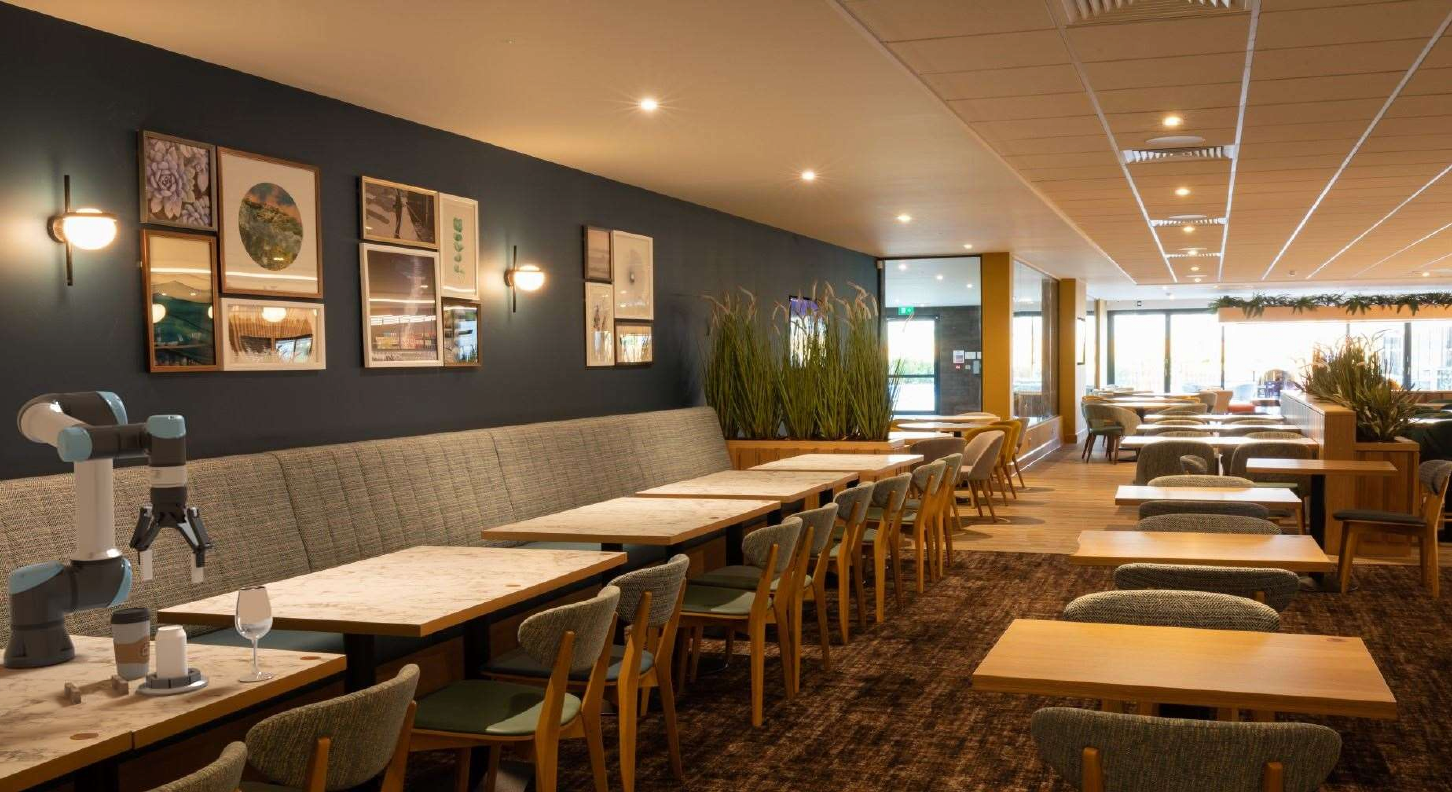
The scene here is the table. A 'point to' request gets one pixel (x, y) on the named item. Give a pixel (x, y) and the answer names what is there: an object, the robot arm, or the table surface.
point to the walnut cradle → (117, 684)
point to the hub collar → (173, 684)
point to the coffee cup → (131, 642)
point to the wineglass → (253, 623)
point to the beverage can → (171, 652)
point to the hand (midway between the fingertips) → (172, 581)
